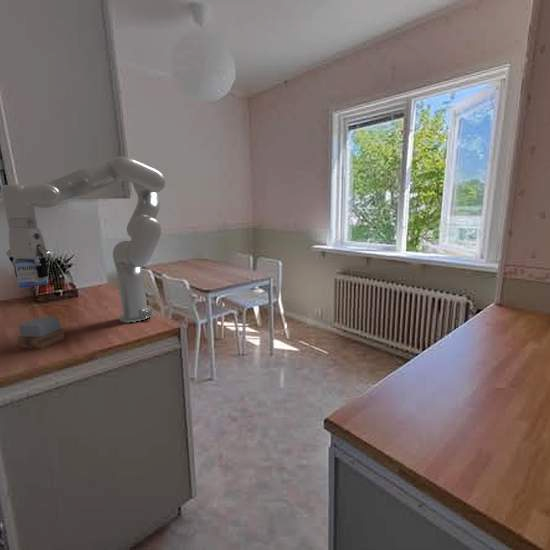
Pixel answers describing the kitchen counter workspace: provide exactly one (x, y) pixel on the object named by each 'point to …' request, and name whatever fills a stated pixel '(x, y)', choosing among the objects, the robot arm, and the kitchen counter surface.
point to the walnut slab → (41, 340)
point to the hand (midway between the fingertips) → (32, 276)
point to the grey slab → (39, 327)
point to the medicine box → (28, 274)
